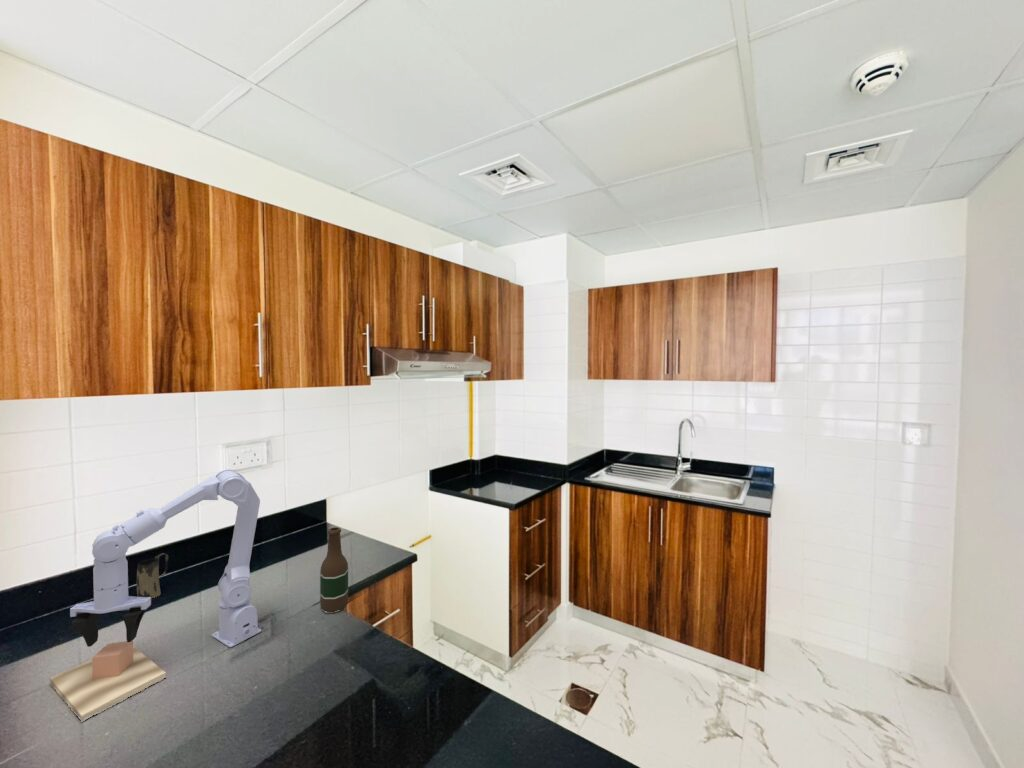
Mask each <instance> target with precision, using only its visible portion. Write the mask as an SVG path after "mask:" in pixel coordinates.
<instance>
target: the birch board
mask: <svg viewBox="0 0 1024 768" xmlns="http://www.w3.org/2000/svg"><path fill="white" fill-rule="evenodd" d="M166 675H167V672H166V671H165V670H164V669H162V668H161V667H160V666H159V665H157V664H156V663H155V662H154V661H153V660H151V659H150V658H149V657H148V656H147V655H145V654H144V653H143V652H142V651H140V650H139V649H138V648H137V647H136V646H135V645H133V662H132V663H131V664H130V665H129V666H128V667H127V668H126V669H125V670H124V671H123V672H122V673H121V674H120V676H116V677H108V678H100V679H93V674H92V659H90V660H87V661H86V662H83V663H81V664H78V665H76V666H74V667H72V668H70V669H67V670H65V671H63V672H61V673H57V674H56V675H53V676H52V677H49V685H50V686H51V688H52V689H53V690H54V689H55V690H56V691H55V690H54V691H55V692H56V693H57V695H58V694H59V695H60V696H61V697H62V698H61V697H60V696H59V695H58V696H59V697H60V698H61V700H62V701H63V700H64V701H65V702H66V703H67V704H68V705H69V707H70V708H71V709H72V710H73V711H74V712H75V713H76V714H77V715H78V716H79V717H80V718H81V720H82V719H84V718H86V717H87V716H89V715H92V714H94V713H96V712H99V711H101V710H103V709H105V708H107V707H109V706H111V705H113V704H116V703H117V702H119V701H121V700H123V699H125V698H127V697H130V696H132V695H134V694H136V693H138V692H140V691H142V690H143V691H145V690H146V689H145V688H147V687H148V686H150V685H152V684H154V683H156V682H158V681H160V680H161V679H163V678H165V677H166ZM166 678H167V677H166ZM144 689H145V690H144ZM147 689H148V688H147ZM143 691H142V692H143ZM140 693H141V692H140ZM138 694H139V693H138ZM136 695H137V694H136ZM134 696H135V695H134ZM132 697H133V696H132ZM130 698H131V697H130ZM64 701H63V702H64ZM65 702H64V703H65ZM66 703H65V704H66ZM67 704H66V705H67ZM69 707H68V708H69ZM70 708H69V709H70ZM71 709H70V710H71ZM72 710H71V711H72Z"/></svg>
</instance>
